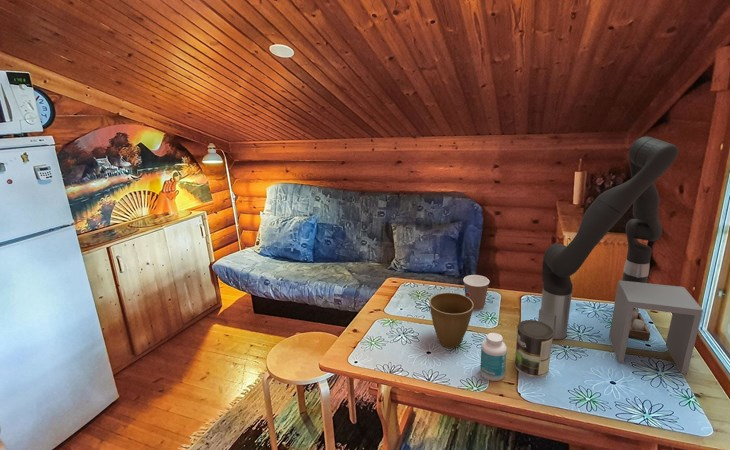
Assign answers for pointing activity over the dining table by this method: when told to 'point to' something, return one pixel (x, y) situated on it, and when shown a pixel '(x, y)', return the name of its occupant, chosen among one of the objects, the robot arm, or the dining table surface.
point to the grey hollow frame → (659, 300)
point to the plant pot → (450, 317)
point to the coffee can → (533, 348)
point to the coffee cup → (476, 290)
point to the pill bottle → (493, 357)
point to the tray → (639, 333)
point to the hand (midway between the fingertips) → (628, 312)
